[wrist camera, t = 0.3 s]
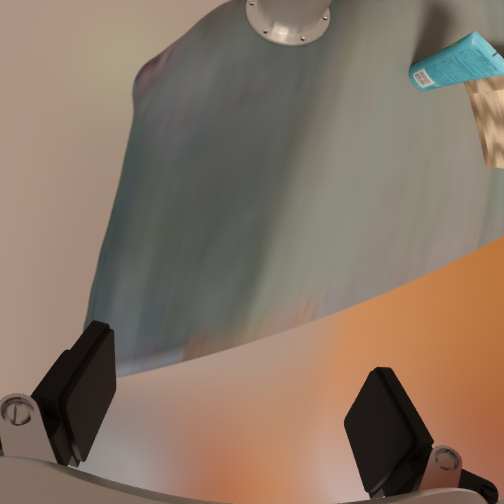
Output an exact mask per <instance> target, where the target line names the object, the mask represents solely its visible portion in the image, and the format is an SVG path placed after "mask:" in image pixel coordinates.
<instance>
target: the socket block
mask: <svg viewBox="0 0 504 504" xmlns="http://www.w3.org/2000/svg"><path fill="white" fill-rule="evenodd" d="M464 83H465V86H466V89H467V92H468V95H469V98H470V102H471V105H472V108H473V112H474V116H475V119H476V123H477V127H478V131H479V135H480V140H481V144H482V149H483V154H484V159H485V164H486V166H492V167H498V168H504V75H502V76H495V77H488V78H482V79H476V80H471V81H466V82H464Z"/></svg>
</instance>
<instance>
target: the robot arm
mask: <svg viewBox="0 0 504 504" xmlns="http://www.w3.org/2000/svg"><path fill="white" fill-rule="evenodd" d="M331 2H332V0H247V5H246V15H247V19H248V21H249V23H250V25H251V27H252V28H253V29H254V31H256V32H257V33H258V34H259V35H260V36H262V37H263V38H265V39H266V40H268V41H271V42H273V43H276V44H279V45H284V46H301V45H306V44H309V43H311V42H314V41H315V40H317V39H319V38H320V37H321V36H322V35H323V34H324V32H325V31H326V30H327V28H328V25H329V23H330V10H329V7H328V6H329V5H330V3H331ZM323 19H325V20H323ZM264 32H266V33H267V34H265V33H264ZM301 39H303V40H304V41H301ZM115 391H116V371H115V348H114V330H113V329H110V326H109V324H106V323H102V322H99V321H95V320H93V321H92V322H91V323H90V325H89V326H88V327H87V329H86V330H85V331H84V332H83V334H82V335H81V336H80V338H79V339H78V340H77V341H76V343H75V344H74V345H73V347H72V348H71V349H70V350H65V351H64V352H63V353H62V354H61V355H60V356H59V358H58V359H57V360H56V362H55V363H54V364H53V366H52V367H51V368H50V370H49V371H48V372H47V374H46V375H45V377H44V378H43V380H42V381H41V382H40V384H39V385H38V386H37V388H36V389H35V391H34V392H33V393H32V395H31V396H30V397H29V396H27V395H24V394H20V393H19V394H18V393H14V394H10V395H7V396H5V397H4V398H2V399H1V400H0V504H231V503H220V502H212V501H204V500H197V499H191V498H184V497H178V496H173V495H168V494H163V493H158V492H154V491H149V490H145V489H141V488H137V487H133V486H129V485H125V484H121V483H118V482H115V481H111V480H108V479H104V478H101V477H98V476H95V475H92V474H89V473H86V472H82V471H79V470H76V469H73V468H70V467H67V466H68V464H69V465H71V466H74V467H78V466H79V463H80V461H82V462H85V461H86V459H87V457H88V454H89V452H90V449H91V447H92V445H93V442H94V440H95V437H96V435H97V433H98V430H99V428H100V426H101V424H102V421H103V419H104V417H105V414H106V412H107V410H108V408H109V405H110V403H111V401H112V399H113V396H114V394H115ZM344 427H345V430H346V433H347V436H348V439H349V442H350V445H351V448H352V451H353V455H354V458H355V461H356V464H357V467H358V470H359V474H360V477H361V480H362V483H363V486H364V489H365V491H366V492H368V493H369V496H370V499H371V500H364V501H357V502H348V503H338V504H504V499H503V498H502V497H501V498H500V499H499V500H498V490H497V488H496V487H495V485H494V484H493V483H491V482H490V481H488V480H486V479H483V478H481V477H479V476H477V475H475V474H472V473H470V472H468V471H466V470H464V469H462V459H461V456H460V455H459V454H458V452H457V451H455V450H454V449H453V448H451V447H449V446H445V445H440V446H436V447H435V448H434V449H433V448H432V446H431V445H432V444H433V443H434V440H433V439H432V437H431V435H430V433H429V431H428V430H427V428H426V426H425V424H424V422H423V421H422V419H421V417H420V416H419V414H418V412H417V411H416V409H415V407H414V405H413V404H412V402H411V400H410V398H409V397H408V395H407V393H406V392H405V390H404V388H403V387H402V385H401V383H400V382H399V380H398V378H397V377H396V375H395V373H394V372H393V370H392V369H391V368H389V367H376V368H375V369H374V370H373V371H371V372H370V373H369V375H368V377H367V379H366V381H365V383H364V385H363V387H362V388H361V390H360V392H359V394H358V396H357V398H356V400H355V401H354V403H353V405H352V407H351V408H350V410H349V412H348V414H347V416H346V417H345V420H344ZM383 496H385V497H384V498H381V497H383ZM375 498H378V499H375Z"/></svg>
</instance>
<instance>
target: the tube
mask: <svg viewBox="0 0 504 504" xmlns="http://www.w3.org/2000/svg"><path fill="white" fill-rule="evenodd" d="M409 75H410V79H411V81H412V83H413V84H414V85H415V86H416V87H417V88H418V89H420V90H423V91H428V90H432V89H436V88H440V87H444V86H448V85H452V84H457V83H461V82H466V81H471V80H476V79H482V78H488V77H495V76H502V75H504V59H503V58H502V57H501V56H500V55H499V54H498V53H497V51H496V50H495V49H494V48H493V47H492V46H491V45H490V44H489V43H488V42H487V41H486V40H485V39H484V38H482V37H481V36H480V35H479V34H478V33H477V32H476V31H474V32H472V33H470V34H469V35H467V36H466V37H464V38H462V39H460V40H458V41H457V42H455V43H453V44H451V45H450V46H448V47H446V48H444V49H442V50H440V51H439V52H437V53H435V54H433V55H431V56H429V57H427V58H426V59H424V60H422V61H420V62H418V63H416V64H414V65H413V66H412V67H411V68H410V72H409Z"/></svg>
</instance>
